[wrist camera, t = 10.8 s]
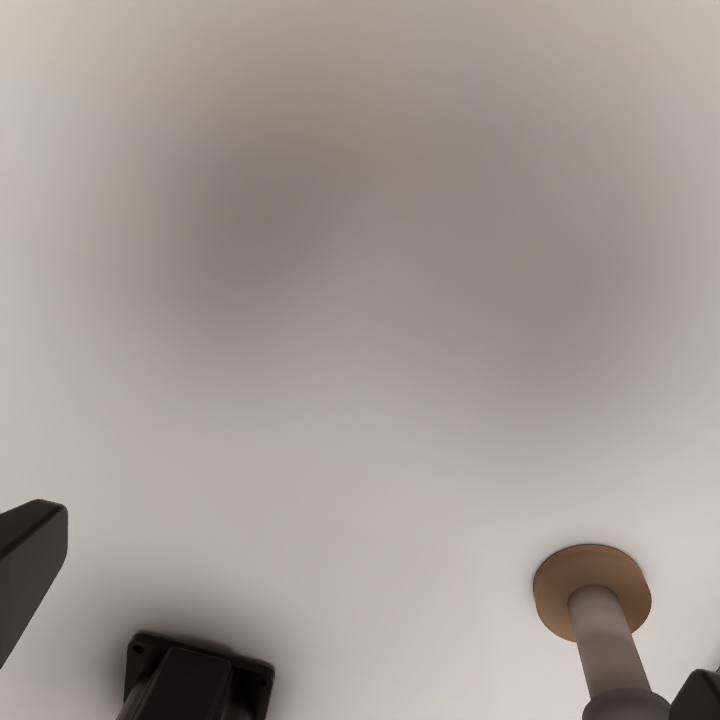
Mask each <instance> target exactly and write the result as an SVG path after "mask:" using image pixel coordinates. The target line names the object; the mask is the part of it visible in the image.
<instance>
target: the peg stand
mask: <svg viewBox="0 0 720 720" xmlns="http://www.w3.org/2000/svg"><path fill="white" fill-rule="evenodd" d="M533 591H534V596H535V602H536V607H537V612H538V615H539V617H540V619H541V621H542V622H543V623H544V625H545V626H546V627H547V628H548V629H549V630H550V631H552V632H553V633H554V634H556V635H557V636H559V637H561V638H563V639H566V640H568V641H572V642H575V643H577V646H578V650H579V654H580V658H581V662H582V666H583V670H584V674H585V678H586V682H587V686H588V690H589V694H590V698H591V701H590V702H589V703H588V704H587V706H586V707H585V709H584V711H583V715H582V720H668V713H669V709H670V706H671V705H670V704H669V702H668V701H667V700H665V699H664V698H663V697H661V696H660V695H658V694H656V693H654V692H652V691H651V688H650V685H649V682H648V680H647V677H646V674H645V671H644V668H643V666H642V663H641V660H640V657H639V654H638V652H637V649H636V646H635V643H634V641H633V638H632V635H631V634H632V633H633V632H635V631H636V630H637V629H638V628H639V627H640V626H641V625H642V624H643V623H644V622H645V620H646V619H647V617H648V615H649V613H650V609H651V602H652V600H651V593H650V590H649V588H648V585H647V583H646V581H645V578H644V576H643V574H642V572H641V569H640V568H639V566H638V565H637V564H636V563H635V561H634V560H633V559H631V558H630V557H629V556H628V555H626V554H624V553H623V552H621V551H619V550H616V549H614V548H610V547H607V546H602V545H579V546H574V547H570V548H567V549H564V550H562V551H560V552H557V553H556V554H554V555H552V556H551V557H550V558H548V559H547V560H546V561H545V562H544V563H543V564H542V565H541V567H540V568H539V569H538V571H537V573H536V576H535V578H534V583H533Z"/></svg>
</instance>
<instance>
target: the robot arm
mask: <svg viewBox="0 0 720 720" xmlns="http://www.w3.org/2000/svg"><path fill="white" fill-rule="evenodd" d="M67 549H68V511H67V508H66V507H65V506H64V505H62V504H59V503H55V502H51V501H47V500H43V499H36V500H33V501H30V502H27V503H25V504H23V505H20V506H18V507H16V508H13V509H11V510H9V511H6V512H4V513H1V514H0V669H1V668H2V666H3V665H4V663H5V661H6V660H7V658H8V657H9V655H10V653H11V652H12V650H13V648H14V647H15V645H16V643H17V642H18V640H19V638H20V637H21V635H22V633H23V632H24V630H25V628H26V627H27V625H28V623H29V621H30V620H31V618H32V616H33V615H34V613H35V611H36V610H37V608H38V606H39V605H40V603H41V601H42V599H43V598H44V596H45V594H46V593H47V591H48V589H49V588H50V586H51V584H52V583H53V581H54V579H55V578H56V576H57V574H58V572H59V571H60V569H61V567H62V565H63V563H64V561H65V558H66V555H67ZM274 679H275V673H274V671H273V670H272V669H271V668H269V667H267V666H263V665H260V664H256V663H252V662H248V661H244V660H241V659H237V658H233V657H229V656H225V655H222V654H218V653H214V652H210V651H206V650H203V649H199V648H195V647H191V646H187V645H183V644H180V643H176V642H172V641H168V640H164V639H161V638H157V637H153V636H149V635H145V634H135V635H134V636H133V637H132V639H131V641H130V643H129V644H128V649H127V663H126V677H125V690H124V704H123V707H122V709H121V711H120V713H119V715H118V717H117V718H116V720H265V719H266V715H267V710H268V706H269V701H270V697H271V692H272V688H273V683H274ZM668 720H720V673H716V672H712V671H708V670H704V669H696V670H695V671H693V672H692V673H691V674H690V675H689V677H688V678H687V680H686V682H685V683H684V685H683V686H682V688H681V689H680V691H679V693H678V694H677V696H676V697H675V699H674V701H673V702H672V704H671V706H670V709H669V713H668Z"/></svg>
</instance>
